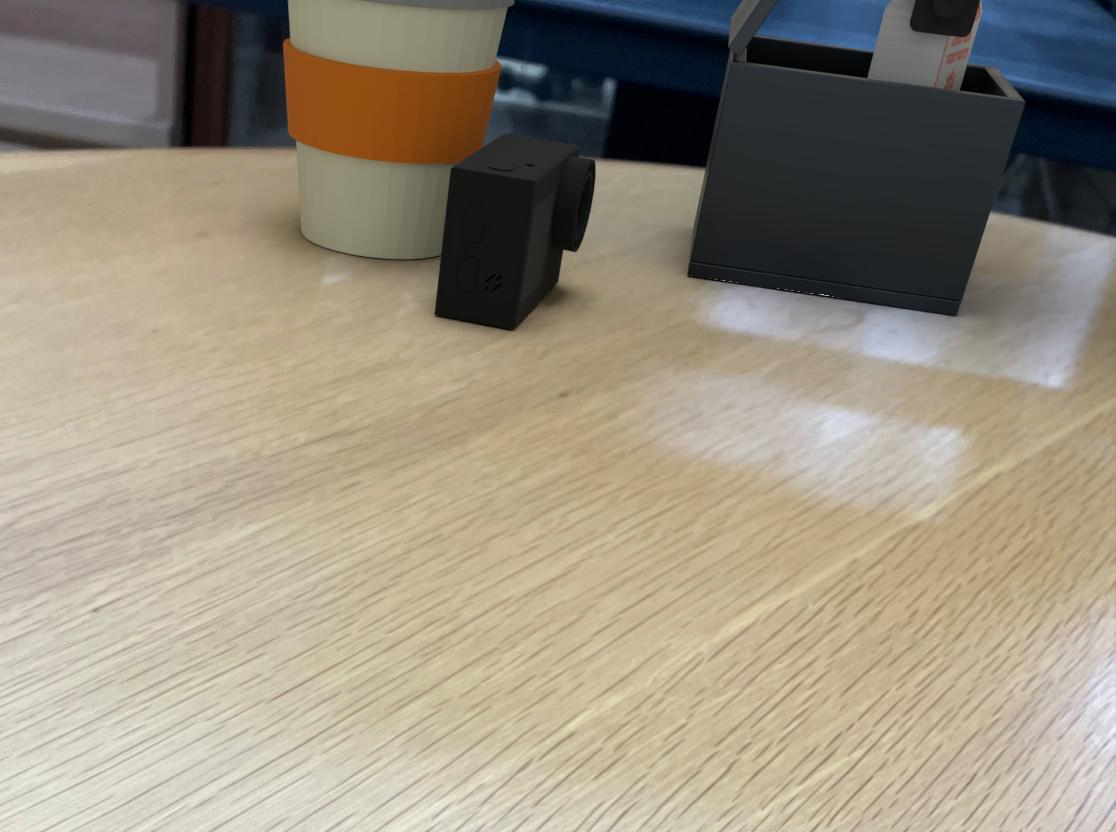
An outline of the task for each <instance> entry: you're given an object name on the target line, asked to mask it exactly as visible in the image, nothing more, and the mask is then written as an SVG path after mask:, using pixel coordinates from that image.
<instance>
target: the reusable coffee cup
mask: <svg viewBox="0 0 1116 832" xmlns="http://www.w3.org/2000/svg"><path fill="white" fill-rule="evenodd" d="M513 5H515V0H287V6H288V23H289V37H288V38H286V39H284V41H283V42H282V48H283V49H282V51H283V65H284V66H283V67H284V83H285V101H286V116H287V117H286V119H287V132H288V134H289V136H290V137H291V138H292V139H293V140H295V146H296V163H297V164H296V165H297V181H298V198H299V199H298V200H299V214H300V216H299V217H300V231H301V234H302V236H303V237H304V238H305V239H306V240H307V241H309V242H311V243H313V244H315V245H317V246H320V247H323V248H325V249H328V250H332V251H335V252H339V253H343V254H347V255H353V256H358V257H359V256H360V257H364V258H365V257H366V258H375V259H389V260H420V259H428V258H435V257H438V256H441V251H442V242H443V233H444V224H445V215H446V206H447V197H448V188H449V180H450V172H451V168H452V167H454V166H455V165H457V164H458V163H460V162H461V161H462V160H464V159H465V158H467V157H468V156H470V155H471V154H473V153H474V152H476V151H477V150H479V149H480V148H482V147H484V145H485V139H486V136H487V132H488V127H489V122H490V119H491V113H492V109H493V105H494V101H495V97H496V91H497V88H498V83H499V79H500V76H501V71H502V63H501V62H499V61H498V60H497V55H498V51H499V46H500V42H501V37H502V33H503V30H504V29H503V28H504V24H505V21H506V17H507V16H506V15H507V12H508V8H509V7H512V6H513Z"/></svg>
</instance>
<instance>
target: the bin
mask: <svg viewBox="0 0 1116 832" xmlns="http://www.w3.org/2000/svg"><path fill="white" fill-rule="evenodd" d="M873 54H874V50H872V49H871V50H870V49H863V48H855V47H848V46H841V45H832V44H824V43H819V42H818V43H817V42H811V41H810V42H809V41H803V40H796V39H788V38H780V37H773V36H766V35H758V34H757V35H756V34H755V35H754V37H753V38H752V40H751V41H750V42H749V44H748V45H747V47H746V48H745V50H744V51H743V53H742V54H741V56H740V57H739V56H737V55H736V54H735V53H734V52H733V51H731V50H730V49H729V54H728V59H727V63H726V69H725V73H724V77H723V78H724V79H723V83H722V87H721V93H720V97H719V101H718V106H717V111H716V116H715V122H714V126H713V131H712V136H711V139H710V145H709V150H708V154H707V155H708V156H707V160H706V164H705V169H704V173H703V178H702V179H703V180H702V183H701V189H700V193H699V194H700V195H699V198H698V203H697V209H696V213H695V218H694V223H693V227H694V228H693V230H692V236H691V242H692V243H690V250H689V257H690V258H689V259H688V265H687V272H686V275H687V274H688V275H692V276H696V277H695V278H698V277H703V278H702V279H704V278H711V279H717V280H716V281H718V280H725V281H732V282H738V283H743V284H742V285H745V284H750V285H749V286H752V285H757V286H756V287H759V286H763V287H762V288H765V287H769V288H768V289H772V288H779V289H787V290H793V291H800V292H807V293H813V294H824V295H829V296H834V297H839V298H838V299H840V298H844V299H843V300H847V299H851V300H850V301H854V300H856V301H855V302H860V301H862V302H861V303H867V302H868V303H867V304H874V305H880V306H881V305H882V306H889V307H894V308H902V309H909V310H915V311H921V312H928V313H936V314H942V315H949V316H957V315H958V314H959V311H960V308H961V304H962V301H963V299H964V295H965V292H966V289H967V286H968V284H969V280H970V277H971V274H972V270H973V268H974V264H975V261H976V259H977V255H978V252H979V248H980V246H981V243H982V239H983V236H984V233H985V230H986V227H987V223H988V220H989V218H990V215H991V211H992V209H993V206H994V201H995V199H996V196H997V193H998V189H999V187H1000V183H1001V180H1002V177H1003V175H1004V171H1005V168H1006V165H1007V162H1008V158H1009V155H1010V152H1011V149H1012V145H1013V143H1014V140H1015V136H1016V134H1017V130H1018V127H1019V124H1020V120H1021V118H1022V115H1023V112H1024V108H1025V105H1026V101H1025V100H1024V98H1023V97H1022V95H1020V94H1019V92H1018V91H1017V90H1016V89H1015V88H1014V87H1013V85H1012V84H1011V83H1010V82H1009V81H1008V79H1007V78H1006V77H1005V76H1004V74H1003V73H1002V72H1001V71H1000V70H999V68H998V67H997V66H992V65H985V64H976V63H969V62H968V63H967V66H966V70H965V73H964V77H963V80H962V84H961V87H960V91H957V90H950V89H942V88H935V87H928V86H920V85H913V84H905V83H898V82H890V81H883V80H875V79H868V74H869V70H870V66H871V62H872V58H873ZM711 279H710V280H711ZM725 281H724V282H725ZM732 282H731V283H732ZM738 283H737V284H738ZM779 289H778V290H779ZM793 291H792V292H793ZM813 294H812V295H813Z"/></svg>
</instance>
